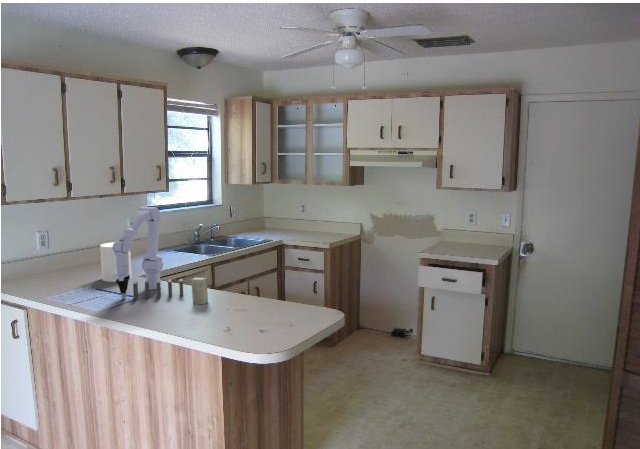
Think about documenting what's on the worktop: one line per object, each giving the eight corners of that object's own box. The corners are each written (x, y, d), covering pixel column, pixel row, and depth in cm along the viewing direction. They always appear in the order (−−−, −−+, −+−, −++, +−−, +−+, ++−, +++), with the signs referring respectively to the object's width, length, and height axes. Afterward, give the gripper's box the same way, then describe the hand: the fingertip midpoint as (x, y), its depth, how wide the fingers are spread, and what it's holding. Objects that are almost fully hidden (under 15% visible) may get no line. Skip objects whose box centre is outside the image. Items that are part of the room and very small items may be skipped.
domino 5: (169, 294, 256) (168, 279, 254) (172, 294, 256) (171, 279, 255) (168, 297, 251) (167, 281, 250) (171, 297, 251) (171, 281, 250)
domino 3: (146, 296, 253) (145, 280, 252) (149, 295, 253) (149, 280, 252) (145, 298, 248) (144, 283, 247) (148, 298, 249) (148, 283, 247)
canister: (136, 275, 296) (135, 242, 293) (123, 282, 280) (121, 247, 277) (111, 274, 298) (109, 241, 295) (96, 281, 282) (94, 246, 279)
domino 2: (134, 296, 252) (134, 281, 250) (138, 296, 252) (137, 281, 251) (133, 299, 247) (133, 284, 246) (137, 299, 247) (136, 283, 246)
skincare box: (208, 302, 243) (207, 277, 241) (203, 304, 239) (203, 279, 237) (196, 301, 244) (195, 276, 243) (191, 303, 240) (191, 279, 239)
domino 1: (123, 296, 250) (122, 281, 249) (126, 296, 251) (125, 281, 249) (121, 299, 245) (121, 283, 244) (125, 299, 246) (124, 283, 245)
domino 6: (180, 294, 257) (179, 278, 256) (183, 293, 257) (182, 278, 256) (179, 296, 252) (179, 281, 251) (183, 296, 253) (182, 281, 251)
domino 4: (157, 295, 254) (157, 280, 253) (161, 295, 255) (160, 280, 254) (157, 298, 249) (156, 282, 248) (160, 297, 250) (159, 282, 249)
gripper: (116, 262, 252) (117, 288, 253) (111, 268, 238) (113, 296, 240) (130, 261, 253) (132, 287, 255) (127, 267, 239) (128, 295, 241)
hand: (124, 291), depth 248 cm, fingers closed on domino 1, 5 cm apart
